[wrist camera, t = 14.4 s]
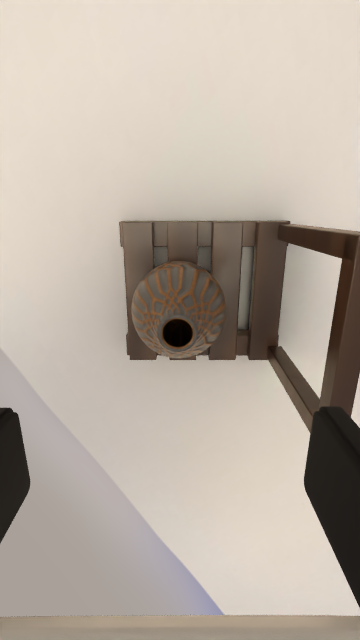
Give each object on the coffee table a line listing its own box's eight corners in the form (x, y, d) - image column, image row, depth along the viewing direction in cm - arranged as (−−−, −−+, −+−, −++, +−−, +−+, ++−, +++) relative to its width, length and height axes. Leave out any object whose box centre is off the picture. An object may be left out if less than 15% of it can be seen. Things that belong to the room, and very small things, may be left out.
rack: (129, 348, 31) (88, 456, 18) (122, 221, 28) (61, 230, 14) (272, 349, 31) (343, 457, 17) (285, 220, 27) (388, 229, 14)
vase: (127, 269, 26) (101, 295, 18) (208, 244, 26) (220, 260, 17) (153, 343, 29) (141, 397, 20) (228, 322, 28) (247, 369, 20)
